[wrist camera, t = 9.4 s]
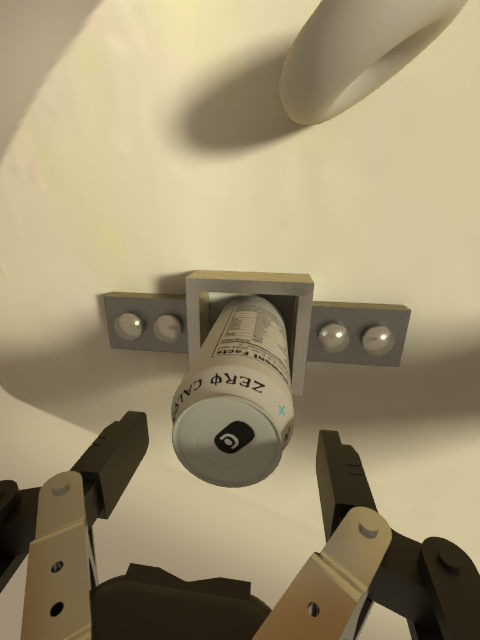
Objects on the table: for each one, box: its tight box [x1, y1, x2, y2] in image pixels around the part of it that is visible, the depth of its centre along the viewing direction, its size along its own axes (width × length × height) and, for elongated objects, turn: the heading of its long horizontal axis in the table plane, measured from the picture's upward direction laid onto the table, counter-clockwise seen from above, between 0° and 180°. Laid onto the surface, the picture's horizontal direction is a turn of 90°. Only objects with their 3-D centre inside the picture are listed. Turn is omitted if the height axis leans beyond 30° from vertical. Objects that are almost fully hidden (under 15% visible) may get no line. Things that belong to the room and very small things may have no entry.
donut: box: [279, 0, 468, 125], centre depth 16 cm, size 10×4×10 cm, turn 122°
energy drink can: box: [171, 296, 295, 488], centre depth 20 cm, size 6×6×15 cm
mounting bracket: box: [104, 270, 411, 396], centre depth 25 cm, size 26×10×4 cm, turn 89°
